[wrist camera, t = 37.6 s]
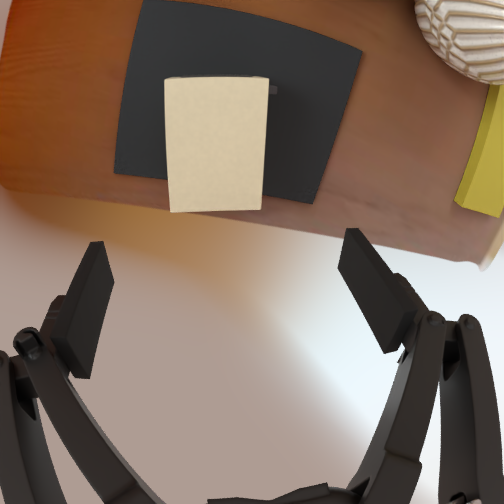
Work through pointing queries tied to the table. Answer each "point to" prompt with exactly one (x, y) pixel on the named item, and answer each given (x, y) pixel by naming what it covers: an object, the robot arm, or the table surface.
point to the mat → (237, 63)
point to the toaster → (216, 141)
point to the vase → (466, 35)
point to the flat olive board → (486, 160)
